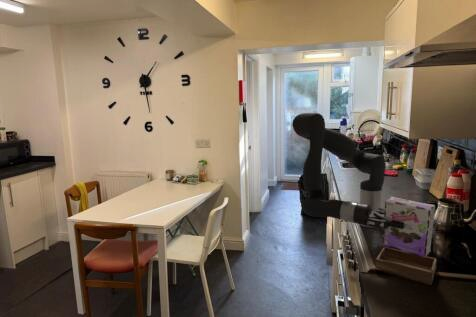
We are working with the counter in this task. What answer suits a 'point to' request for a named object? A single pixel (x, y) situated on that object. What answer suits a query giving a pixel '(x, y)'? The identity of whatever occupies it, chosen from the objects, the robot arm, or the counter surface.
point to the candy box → (409, 226)
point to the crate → (406, 265)
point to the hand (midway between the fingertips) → (405, 222)
